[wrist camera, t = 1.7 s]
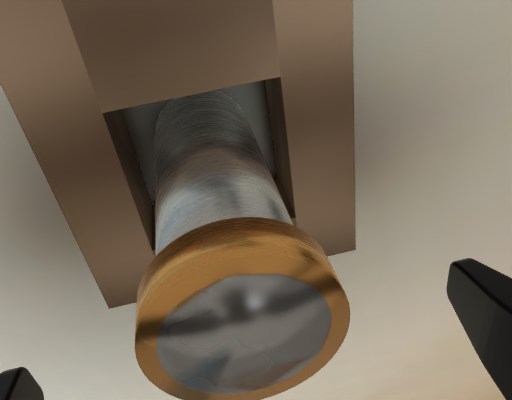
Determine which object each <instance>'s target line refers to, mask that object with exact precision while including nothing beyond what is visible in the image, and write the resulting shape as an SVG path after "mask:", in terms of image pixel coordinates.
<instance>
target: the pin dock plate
mask: <svg viewBox="0 0 512 400" xmlns="http://www.w3.org/2000/svg"><path fill="white" fill-rule="evenodd" d="M262 80H265V85H266V93H267V101H268V108H269V116H270V124H271V131H272V139H273V147H274V154H275V162H276V170H277V177H276V178H273V180H274V182H275V184H276V187H277V189H278V191H279V194H280V196H281V198H282V200H283V203H284V205H285V207H286V210H287V212H288V214H289V216H290V219H291V221H292V223H293V225H294V226H295V227H298V228H299V229H301V230H303V231H304V232H306V233H307V234H309V235H310V236H311V237H312V238H313V239H315V240H316V241H317V243H318V244H319V245H320V246H321V247H322V249H323V251H324V252H325V254H326V256H331V255H335V254H339V253H343V252H348V251H352V250H356V246H355V166H354V87H353V7H352V0H0V84H1V86H2V88H3V90H4V92H5V94H6V96H7V98H8V100H9V102H10V104H11V106H12V109H13V111H14V113H15V115H16V117H17V119H18V121H19V123H20V125H21V127H22V129H23V131H24V133H25V135H26V138H27V140H28V142H29V144H30V146H31V148H32V150H33V152H34V154H35V156H36V158H37V160H38V162H39V164H40V166H41V169H42V171H43V173H44V175H45V177H46V179H47V181H48V183H49V185H50V187H51V189H52V191H53V193H54V195H55V197H56V200H57V202H58V204H59V206H60V208H61V210H62V212H63V214H64V216H65V218H66V220H67V222H68V224H69V226H70V229H71V231H72V233H73V235H74V237H75V239H76V241H77V243H78V245H79V247H80V249H81V251H82V253H83V255H84V257H85V260H86V262H87V264H88V266H89V268H90V270H91V272H92V274H93V276H94V278H95V280H96V282H97V284H98V286H99V289H100V291H101V293H102V295H103V297H104V299H105V301H106V303H107V305H108V307H109V308H114V307H118V306H122V305H126V304H130V303H135V302H137V292H138V288H139V284H140V281H141V279H142V276H143V274H144V272H145V270H146V269H147V267H148V266H149V264H150V262H151V261H152V260H153V259H154V258H155V257H156V242H155V205H152V203H151V200H150V197H149V194H148V191H147V188H146V185H145V182H144V179H143V176H142V173H141V170H140V167H139V164H138V161H137V158H136V155H135V152H134V149H133V146H132V143H131V140H130V137H129V134H128V131H127V128H126V125H125V122H124V119H123V117H122V114H121V111H120V109H125V108H130V107H135V106H139V105H144V104H149V103H154V102H159V101H164V100H169V99H174V98H179V97H183V96H188V95H193V94H198V93H203V92H208V91H213V90H218V89H223V88H228V87H232V86H237V85H242V84H247V83H252V82H257V81H262Z"/></svg>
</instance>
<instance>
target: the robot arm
mask: <svg viewBox="0 0 512 400" xmlns="http://www.w3.org/2000/svg"><path fill="white" fill-rule="evenodd" d="M447 295H448V298H449V300H450V302H451V304H452V306H453V308H454V310H455V312H456V314H457V316H458V318H459V320H460V322H461V324H462V325H463V327H464V329H465V331H466V333H467V335H468V337H469V339H470V341H471V343H472V345H473V347H474V349H475V351H476V353H477V354H478V356H479V358H480V360H481V362H482V363H483V365H484V367H485V368H486V370H487V371H488V373H489V374H490V376H491V378H492V379H493V381H494V382H495V384H496V385H497V387H498V388H499V390H500V391H501V393H502V394H503V396H504V397H505V399H506V400H512V278H510V277H508V276H506V275H504V274H502V273H500V272H498V271H496V270H494V269H492V268H490V267H488V266H486V265H484V264H482V263H480V262H478V261H476V260H474V259H471V258H467V259H462V260H458V261H454V262H452V264H451V265H450V269H449V275H448V282H447ZM0 400H44V395H43V391H42V389H41V387H40V386H39V385H38V383H37V382H36V381H35V379H34V378H33V376H32V375H31V374H30V372H29V371H28V370H27V369H26V368H24V367H19V368H15V369H10V370H6V371H4V372H2V373H1V374H0Z"/></svg>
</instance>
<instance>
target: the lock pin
mask: <svg viewBox="0 0 512 400" xmlns="http://www.w3.org/2000/svg"><path fill="white" fill-rule="evenodd" d="M155 242H156V257H155V258H154V259H153V260H152V261H151V262H150V264H149V266H148V267H147V269H146V270H145V272H144V274H143V276H142V279H141V281H140V284H139V288H138V292H137V309H136V333H135V352H136V358H137V361H138V364H139V366H140V368H141V370H142V371H143V373H144V375H145V376H146V377H147V378H148V379H149V380H150V381H151V382H152V383H153V384H154V385H155V386H157V387H158V388H159V389H161V390H163V391H164V392H166V393H168V394H170V395H172V396H175V397H177V398H180V399H183V400H261V399H264V398H267V397H271V396H274V395H276V394H279V393H281V392H284V391H286V390H288V389H290V388H292V387H295V386H296V385H298V384H300V383H302V382H303V381H305V380H307V379H308V378H309V377H311V376H312V375H314V374H315V373H316V372H318V371H319V370H320V369H321V368H322V367H323V366H325V364H326V363H327V362H328V361H329V360H330V359H331V358H332V357H333V356H334V354H335V353H336V352H337V351H338V349H339V348H340V346H341V344H342V342H343V341H344V338H345V336H346V334H347V331H348V327H349V323H350V308H349V303H348V300H347V297H346V294H345V292H344V290H343V288H342V286H341V284H340V282H339V280H338V278H337V276H336V274H335V272H334V270H333V268H332V266H331V264H330V262H329V260H328V258H327V256H326V254H325V252H324V251H323V249H322V247H321V246H320V245H319V244H318V243H317V241H316V240H315V239H313V238H312V237H311V236H310V235H309V234H307V233H306V232H304V231H303V230H301V229H299V228H298V227H295V226H294V225H293V223H292V221H291V219H290V216H289V214H288V212H287V210H286V207H285V205H284V203H283V200H282V198H281V196H280V194H279V191H278V189H277V187H276V184H275V182H274V180H273V178H272V175H271V173H270V171H269V169H268V166H267V164H266V162H265V159H264V157H263V155H262V153H261V150H260V148H259V146H258V144H257V141H256V139H255V137H254V134H253V132H252V130H251V128H250V125H249V123H248V121H247V118H246V116H245V114H244V112H243V110H242V108H241V107H240V106H239V105H238V103H237V102H236V101H235V100H234V99H232V98H231V97H230V96H228V95H226V94H225V93H222V92H220V91H217V90H213V91H208V92H203V93H198V94H193V95H188V96H183V97H179V98H174V99H171V100H169V101H168V102H167V103H166V104H165V106H164V107H163V108H162V110H161V111H160V113H159V115H158V118H157V120H156V125H155Z"/></svg>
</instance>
